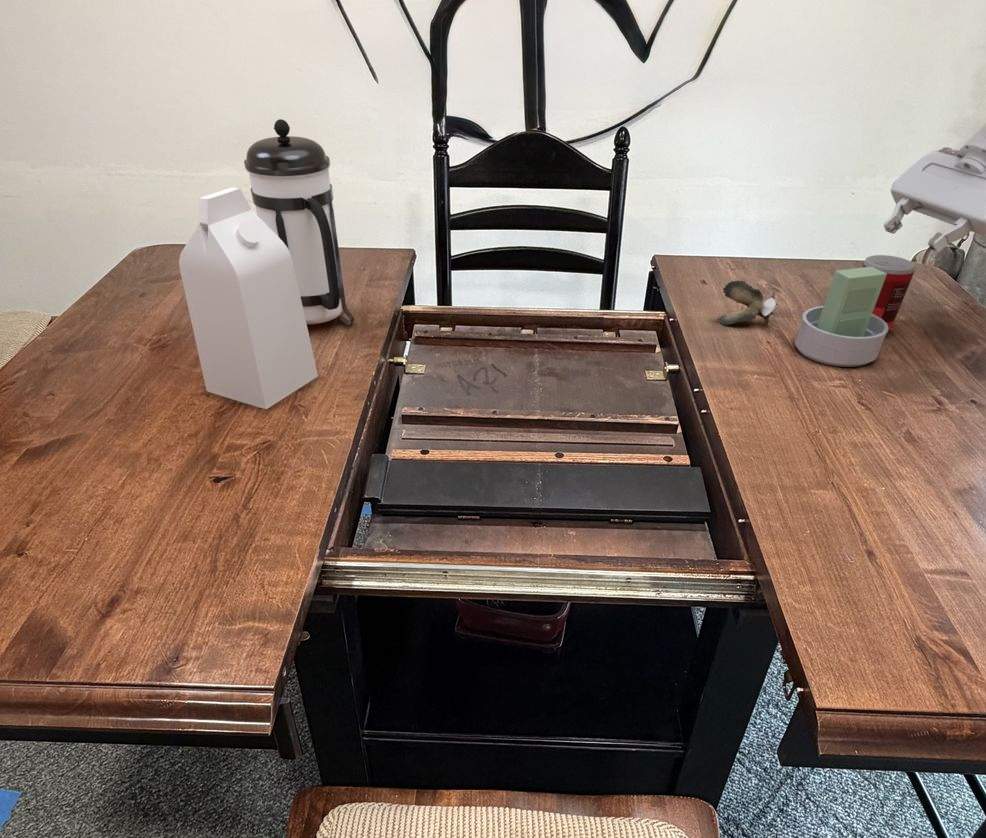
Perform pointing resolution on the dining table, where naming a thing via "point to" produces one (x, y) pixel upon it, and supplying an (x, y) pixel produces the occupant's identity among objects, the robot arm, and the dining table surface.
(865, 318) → the toy door
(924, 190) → the robot arm
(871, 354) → the bowl
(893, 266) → the canned food
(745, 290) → the eagle figurine
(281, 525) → the dining table surface
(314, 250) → the coffee press
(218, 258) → the milk
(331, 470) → the dining table surface
